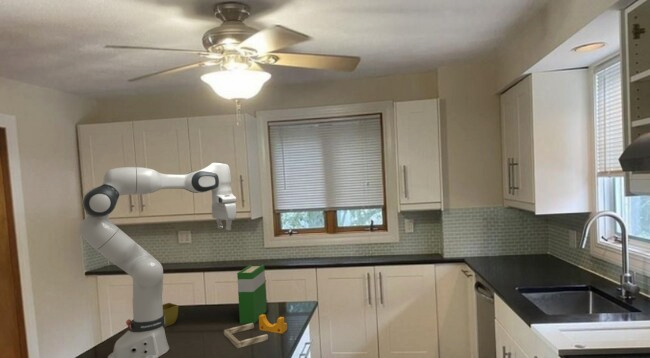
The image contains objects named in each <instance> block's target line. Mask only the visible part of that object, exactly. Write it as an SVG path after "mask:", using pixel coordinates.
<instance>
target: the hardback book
mask: <svg viewBox="0 0 650 358" xmlns="http://www.w3.org/2000/svg"><path fill="white" fill-rule="evenodd" d="M265 270H266V269H265V264H261V265H253V264H250V265H248V266H246V267H245V268H243V269H242V270H240V271H238V272H237V273H236V274H237V276H236V277H237V291H238V293H237V295H238V309H239V310H238V311H239V312H238V313H239V315H238V316H239V324H250V323H253V324H254V325H256V323H257V322H259V316H260V315H262V314H264V315H265V313H266V312H267V310H268V309H267V293H266V292H267V291H266V276H265V274H266V273H265Z"/></svg>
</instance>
